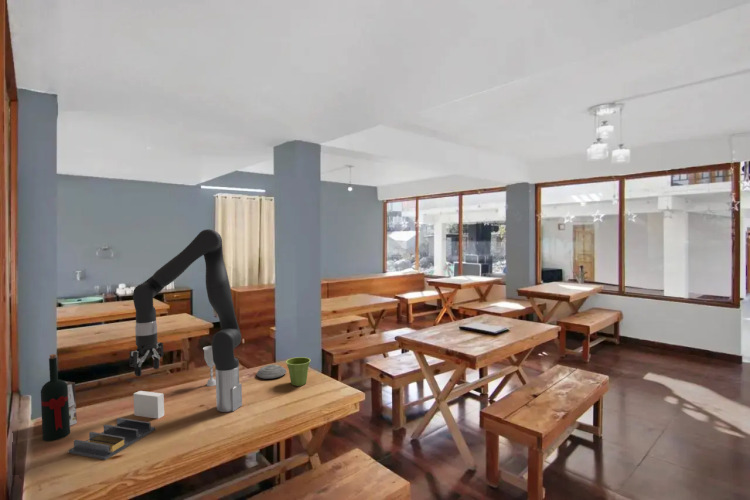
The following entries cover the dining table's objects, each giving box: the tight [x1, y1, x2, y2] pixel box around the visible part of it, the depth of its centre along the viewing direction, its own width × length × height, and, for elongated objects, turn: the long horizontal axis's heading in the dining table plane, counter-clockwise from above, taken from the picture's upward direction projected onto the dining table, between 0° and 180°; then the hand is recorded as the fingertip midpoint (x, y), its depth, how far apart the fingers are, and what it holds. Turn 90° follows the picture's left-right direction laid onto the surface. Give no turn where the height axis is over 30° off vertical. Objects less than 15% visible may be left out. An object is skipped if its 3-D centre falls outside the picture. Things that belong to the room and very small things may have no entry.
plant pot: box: [285, 356, 312, 387], centre depth 189 cm, size 12×12×11 cm
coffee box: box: [41, 380, 78, 427], centre depth 150 cm, size 9×6×16 cm
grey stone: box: [255, 364, 287, 380], centre depth 201 cm, size 15×15×6 cm
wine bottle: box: [40, 353, 71, 442], centre depth 141 cm, size 8×10×30 cm
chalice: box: [202, 345, 216, 387], centre depth 189 cm, size 7×7×18 cm
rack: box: [68, 417, 156, 461], centre depth 139 cm, size 16×20×4 cm
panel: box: [133, 390, 165, 420], centre depth 158 cm, size 12×3×9 cm, turn 74°
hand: (147, 372), depth 157 cm, fingers open, 8 cm apart
